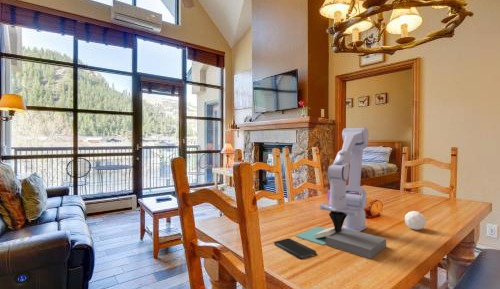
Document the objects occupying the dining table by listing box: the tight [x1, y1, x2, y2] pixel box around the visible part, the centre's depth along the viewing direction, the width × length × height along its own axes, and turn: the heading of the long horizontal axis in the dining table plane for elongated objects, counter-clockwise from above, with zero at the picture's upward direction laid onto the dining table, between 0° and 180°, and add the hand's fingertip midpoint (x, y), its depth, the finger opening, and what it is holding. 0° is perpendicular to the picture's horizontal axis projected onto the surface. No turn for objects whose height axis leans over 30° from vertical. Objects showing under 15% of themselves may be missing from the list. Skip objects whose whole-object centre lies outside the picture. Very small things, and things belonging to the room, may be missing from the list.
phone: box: [273, 237, 317, 260], centre depth 92 cm, size 8×1×15 cm
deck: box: [325, 228, 387, 260], centre depth 94 cm, size 14×16×3 cm
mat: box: [295, 226, 326, 246], centre depth 105 cm, size 16×12×1 cm
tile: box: [314, 226, 343, 239], centre depth 102 cm, size 10×7×2 cm
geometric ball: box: [404, 210, 427, 231], centre depth 112 cm, size 8×8×8 cm
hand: (338, 231), depth 99 cm, fingers closed
